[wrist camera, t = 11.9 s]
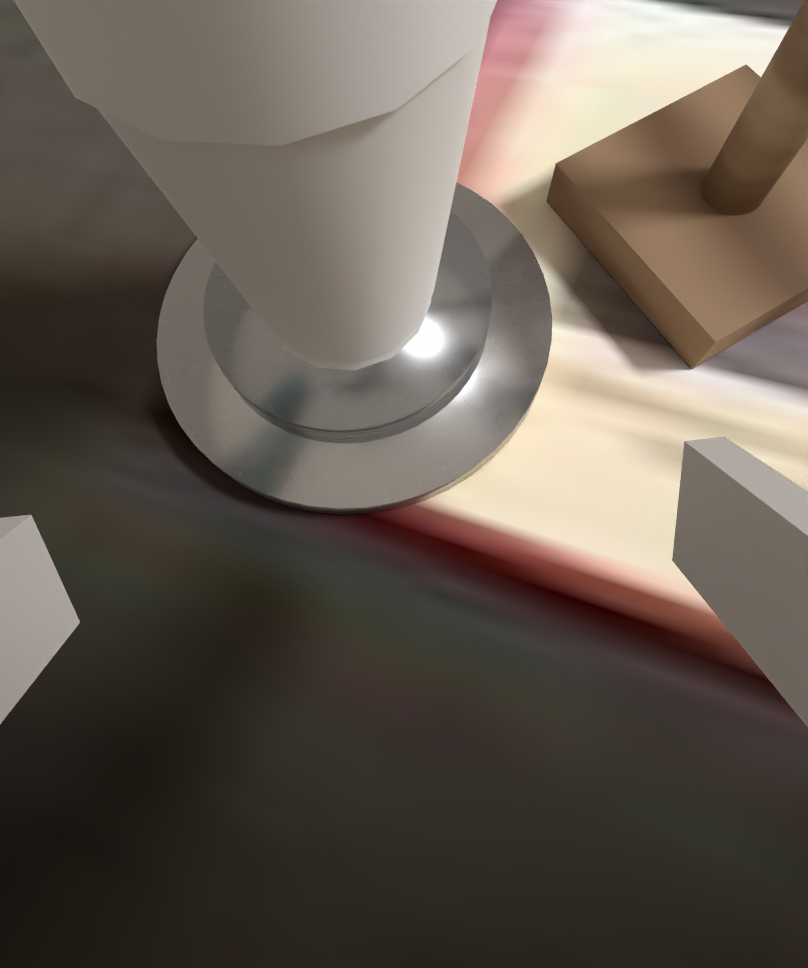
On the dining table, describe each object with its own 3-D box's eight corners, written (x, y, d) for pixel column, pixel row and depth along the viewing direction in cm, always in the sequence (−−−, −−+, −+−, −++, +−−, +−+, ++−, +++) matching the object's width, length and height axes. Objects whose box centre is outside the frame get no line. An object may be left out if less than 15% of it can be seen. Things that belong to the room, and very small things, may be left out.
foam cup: (175, 333, 21) (-188, -130, 9) (314, 165, 23) (180, -398, 11) (387, 455, 19) (305, 82, 7) (518, 259, 21) (634, -293, 9)
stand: (723, 107, 26) (945, -316, 15) (883, 256, 24) (1306, -125, 12) (546, 200, 25) (641, -180, 14) (691, 369, 22) (960, 65, 11)
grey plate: (459, 138, 27) (462, 87, 24) (615, 428, 22) (638, 400, 19) (132, 247, 26) (101, 204, 23) (221, 576, 21) (194, 565, 18)
